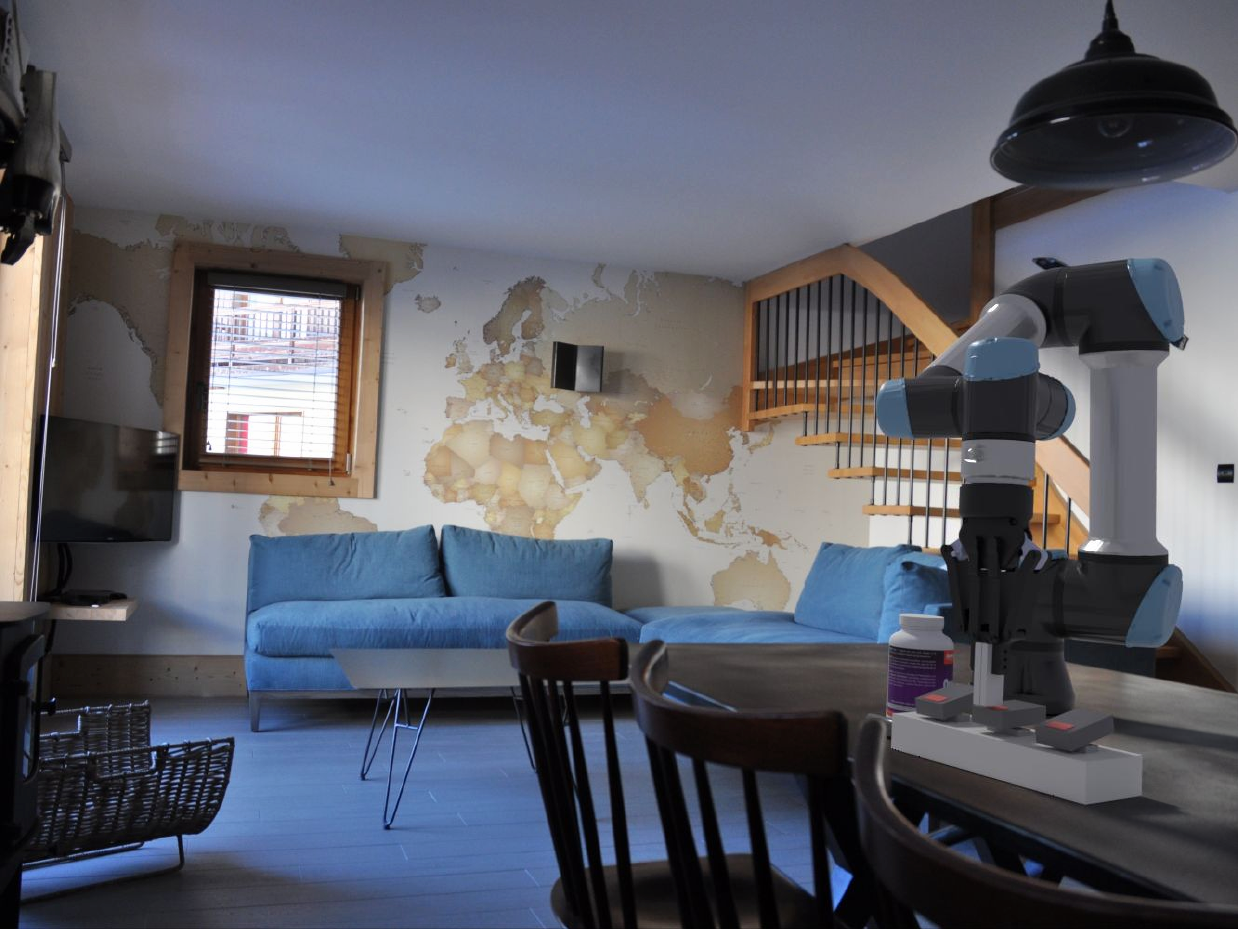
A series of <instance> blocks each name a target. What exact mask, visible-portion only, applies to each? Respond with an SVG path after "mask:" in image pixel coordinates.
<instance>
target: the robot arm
mask: <svg viewBox="0 0 1238 929" xmlns="http://www.w3.org/2000/svg"><path fill="white" fill-rule="evenodd" d="M1180 287H1181V286H1180V284H1179V282H1178V279H1177V276H1176V273H1175V271H1174V269H1173V267H1172V266H1171V265H1170V263H1169V262H1168V261H1166V260H1165V259H1163V258H1159V257H1147V258H1146V257H1145V258H1133V257H1130V258H1127V259H1119V260H1111V261H1104V262H1103V261H1102V262H1095V263H1088V264H1087V263H1086V264H1080V265H1071V266H1059V267H1053V268H1048V269H1045V270H1042V271H1039V272H1036V273H1035V274H1032V275H1029V276H1028V277H1026V278H1023V279H1022V280H1021V279H1020V281H1018V282H1016V283H1014V284H1012V285H1011V286H1009V287H1007V288H1006V289H1004V290H1002V291H1001V292H999V293H998V294H996V295H995V296H994V297H993V298H992V299H990V301H989V302H988V303H986V304H985V306H984V307H983V308H982V310H981V312H980V313H979V317H978V321H977V322H976V323H974V325H972V326H971V327H970V328H969V329H968V330H966V332H964V334H961V336H960V337H959V338H957V339H956V341H954V342H953V343H952V344H951V345H950V346H948V348H946V349H945V350H944V351H943V352H942V353H941V354H940V355H939V356H938V357H937V358H936V359H935V360H933V361H932V362H931V363H930V364H929V365H928V366H927V367H925V368H924V369H923V370H922V371H921V372H920V373H919V374H918V375H916V376H915V377H901V378H897V379H890V380H887V381H884V383H882V385H881V386H880V387H879V389H878V392H877V395H876V401H875V415H876V419H877V424H878V427H879V428H880V431H881V432H882V434H884V435H885V436H887V437H889V438H891V439H907V440H911V441H915V440H937V439H939V440H941V439H944V440H945V439H961V455H960V456H961V460H960V478H963V479H965V480H966V481H965V483H961V486H959V496H958V498H959V499H958V514H959V515H960V517H961V518H962V524H961V527H960V529H959V531H958V538H956V539H955V540H954V541H953V542H951V543H950V544H944V543H943V544H942V545H941V546H940V548H939V552H940V554H941V557H942V559H943V561H944V564H945V565H946V572H947V578H948V584H949V591H950V592H949V593H950V599H951V600H950V601H951V605H952V614H953V620H954V626H955V627H954V628H955V630H956V632H957V633H960V634H963V635H965V636H967V637H968V639H969V640H970V656H969V658H970V660H969V661H970V662H969V666H970V670H971V671H972V673H971V676H970V680H969V681H968V683H967V685H970V686H974V698H973V704H977V705H981V706H1002V705H1003V701H1009V700H1018V701H1023V702H1028V703H1033V704H1037V705H1042V706H1046V715H1061V714H1063V713H1066V712H1068V711H1071V710H1073V709H1075V708H1076V701H1077V700H1076V698H1077V697H1076V693H1075V691H1074V688H1073V684H1072V680H1071V676H1070V674H1069V670H1068V668H1067V663H1066V660H1065V656H1064V655H1065V640H1071V641H1080V642H1082V641H1083V642H1091V643H1092V642H1093V643H1102V644H1110V645H1119V646H1120V645H1121V646H1125V647H1126V648H1132V647H1138V648H1153V649H1154V648H1159V647H1162V646H1164V645H1165V644H1166V643H1167V642H1168V641H1169V639H1171V637H1172V636H1173V633H1174V631H1175V628H1176V626H1177V622H1178V619H1179V614H1180V610H1181V606H1182V600H1183V591H1184V581H1183V576H1184V575H1183V571H1182V569H1181V568H1180V567H1179V566H1178V565H1176V564H1174V563H1170V562H1169V558H1170V554H1169V549H1167V548H1166V547H1165V546H1164V545H1163V544H1162V543H1161V542H1160V541H1159V540H1158V538H1157V507H1158V506H1157V503H1158V502H1157V501H1158V500H1157V495H1158V494H1157V493H1158V492H1157V491H1158V490H1157V486H1158V485H1157V484H1158V483H1157V480H1158V479H1157V478H1158V477H1157V476H1158V473H1157V470H1158V469H1157V468H1158V462H1157V461H1158V457H1157V456H1158V453H1157V452H1158V368H1159V366H1160V365H1161V364H1162V363H1163V362H1164V361H1165V360H1166V359H1167V358H1168V357H1170V354H1171V353H1170V348H1171V345H1170V344H1171V342H1172V343H1173V342H1176V341H1179V340H1180V339H1182V338H1183V336H1184V332H1185V327H1184V326H1185V322H1186V321H1185V310H1184V301H1183V296H1182V292H1181V288H1180ZM1065 347H1066V348H1073V347H1074V348H1076V347H1078V359H1079V360H1080V361H1081V362H1082V363H1083V364H1084V365H1085V366H1087V368H1088V369H1089V504H1088V505H1089V511H1088V512H1089V518H1088V520H1089V521H1088V522H1089V523H1088V526H1089V528H1088V529H1089V534H1088V535H1089V536H1088V538H1087V539H1086V540H1084V541H1083V542H1082V544H1080V545H1079V546H1078V547H1077V559H1073V558H1069V555H1068V552H1067V550H1066V549H1064V548H1049V549H1042V548H1041V547H1039V546H1038V545H1037V544H1035V542H1034V541H1033V534H1032V532H1031V529H1030V521H1031V520H1032V519H1033V517H1034V502H1035V501H1034V499H1035V498H1034V496H1035V489H1033V487H1032V485H1031V486H1030V485H1029V482H1033V481H1034V480H1035V478H1036V449H1037V448H1036V441H1039V442H1040V441H1041V442H1046V441H1047V442H1048V441H1051V440H1055V439H1058V438H1059V437H1061V436H1062V435H1063V434H1065V433H1066V432H1067V431H1068V430H1069V428H1071V426H1072V424H1073V422H1074V420H1075V417H1076V413H1077V412H1076V411H1077V406H1076V399H1075V397H1074V395H1073V393H1072V391H1071V390H1070V389H1069V388H1068V386H1066V385H1065V384H1064V383H1062V381H1061V380H1059V379H1058V378H1056V377H1054V376H1050V375H1049V374H1044V373H1042V372H1040V371H1039V370H1040V369H1041V362H1040V358H1039V357H1040V356H1039V353H1040V352H1039V350H1041V349H1043V350H1044V349H1050V348H1052V349H1053V348H1065Z"/></svg>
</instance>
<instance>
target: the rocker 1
mask: <svg viewBox="0 0 1238 929" xmlns="http://www.w3.org/2000/svg"><path fill="white" fill-rule="evenodd" d="M973 698H974V686H970V685H968V684H966V683H965V684H963V683H960V682H959V683H958V682H955V683H953V684H952V685H949V686H946V687H944V688H941V689H938V690H935V691H933V692H930V693H927V694H925V695H922V696H919V697H916V698H915V704H916V713H917V714H921V715H925V716H929V717H933V718H937V719H941V720H946V719H948V718H951V717H953V716H956V715H958V714H961V713H964V714H965V713H966V712H969V711H972V705H976V704H973Z"/></svg>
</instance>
